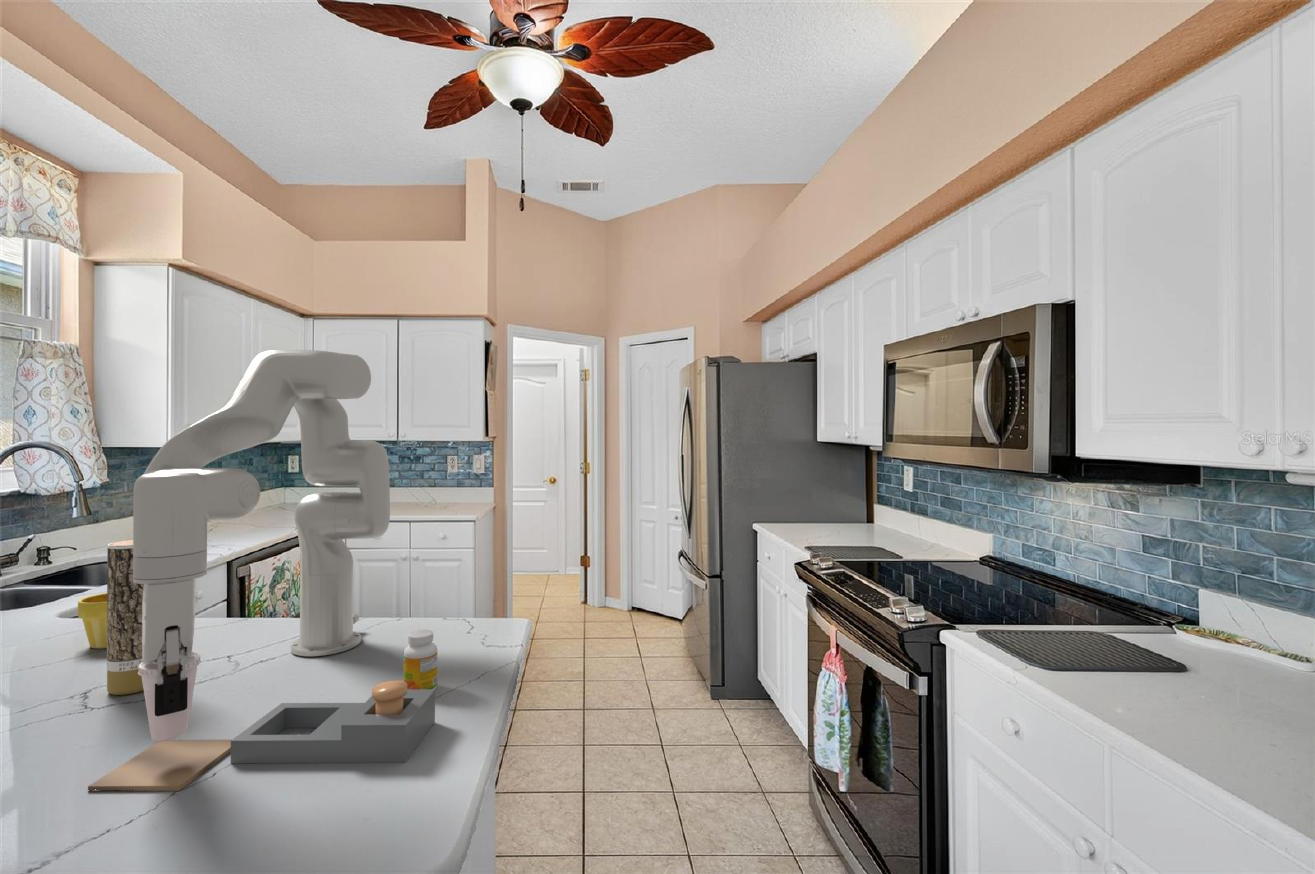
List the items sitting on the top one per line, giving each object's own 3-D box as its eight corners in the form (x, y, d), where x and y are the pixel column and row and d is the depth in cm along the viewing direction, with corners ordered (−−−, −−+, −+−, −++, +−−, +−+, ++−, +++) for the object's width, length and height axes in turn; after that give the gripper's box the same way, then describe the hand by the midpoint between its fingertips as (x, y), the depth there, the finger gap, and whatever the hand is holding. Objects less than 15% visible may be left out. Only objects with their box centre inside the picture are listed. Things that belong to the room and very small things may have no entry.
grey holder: (281, 722, 89) (281, 689, 89) (434, 722, 90) (435, 689, 90) (230, 763, 78) (230, 725, 78) (405, 762, 79) (405, 724, 79)
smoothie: (169, 720, 81) (170, 618, 81) (212, 722, 80) (213, 620, 80) (123, 744, 75) (124, 633, 75) (169, 747, 74) (170, 636, 74)
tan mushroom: (380, 728, 86) (380, 680, 86) (412, 728, 87) (412, 680, 86) (365, 744, 82) (365, 694, 82) (398, 744, 82) (399, 694, 82)
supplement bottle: (397, 690, 101) (398, 633, 101) (428, 680, 105) (428, 626, 105) (411, 699, 97) (412, 640, 97) (442, 689, 101) (443, 633, 101)
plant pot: (137, 631, 130) (137, 587, 130) (152, 641, 124) (152, 594, 124) (72, 644, 121) (72, 597, 121) (84, 656, 115) (84, 606, 115)
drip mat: (161, 743, 83) (161, 739, 83) (241, 743, 83) (241, 739, 83) (87, 791, 72) (87, 786, 72) (179, 790, 72) (179, 785, 72)
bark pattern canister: (170, 679, 104) (170, 538, 104) (137, 696, 98) (138, 545, 98) (130, 679, 104) (131, 538, 104) (95, 697, 97) (95, 545, 97)
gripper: (133, 559, 82) (132, 689, 82) (132, 583, 69) (131, 738, 69) (201, 552, 86) (200, 675, 86) (212, 573, 74) (211, 718, 73)
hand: (170, 701), depth 78 cm, fingers closed on smoothie, 6 cm apart
